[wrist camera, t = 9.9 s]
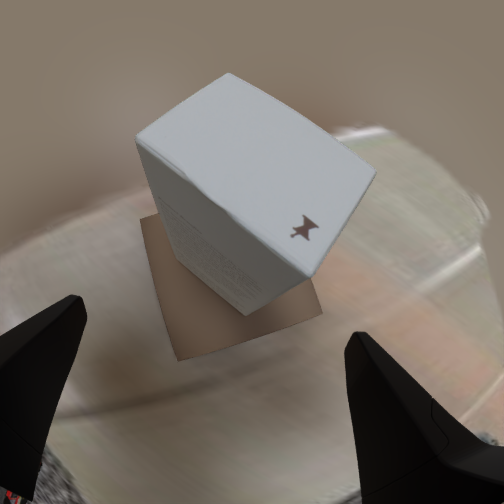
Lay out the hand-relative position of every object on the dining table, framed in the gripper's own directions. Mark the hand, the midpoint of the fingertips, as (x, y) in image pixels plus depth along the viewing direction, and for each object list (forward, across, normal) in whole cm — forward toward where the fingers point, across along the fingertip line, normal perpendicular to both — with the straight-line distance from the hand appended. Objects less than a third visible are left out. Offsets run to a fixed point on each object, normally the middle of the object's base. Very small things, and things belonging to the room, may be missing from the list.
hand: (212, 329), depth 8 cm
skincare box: (+10, 0, +4) cm, 10 cm away
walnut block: (+12, 0, +6) cm, 13 cm away
